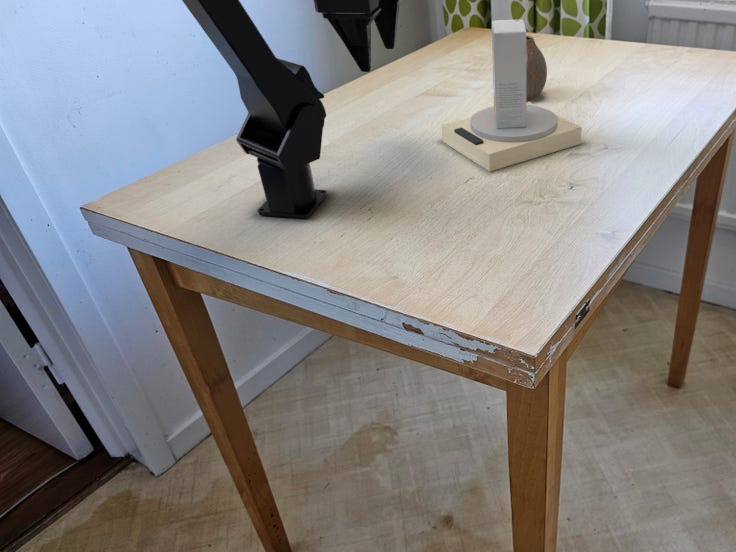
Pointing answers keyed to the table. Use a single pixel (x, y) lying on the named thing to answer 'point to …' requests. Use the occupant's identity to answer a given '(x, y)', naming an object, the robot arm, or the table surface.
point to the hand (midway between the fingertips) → (378, 59)
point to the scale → (510, 137)
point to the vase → (534, 69)
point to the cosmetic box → (509, 73)
